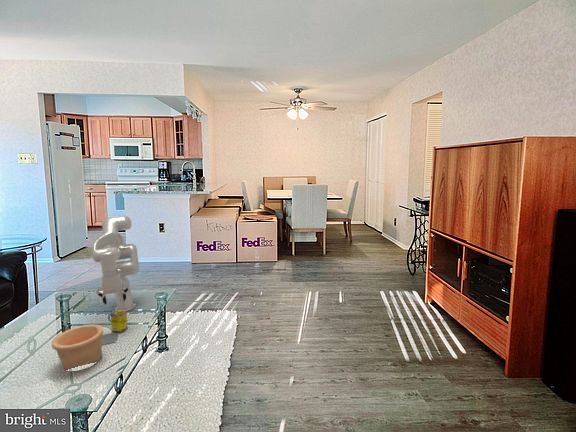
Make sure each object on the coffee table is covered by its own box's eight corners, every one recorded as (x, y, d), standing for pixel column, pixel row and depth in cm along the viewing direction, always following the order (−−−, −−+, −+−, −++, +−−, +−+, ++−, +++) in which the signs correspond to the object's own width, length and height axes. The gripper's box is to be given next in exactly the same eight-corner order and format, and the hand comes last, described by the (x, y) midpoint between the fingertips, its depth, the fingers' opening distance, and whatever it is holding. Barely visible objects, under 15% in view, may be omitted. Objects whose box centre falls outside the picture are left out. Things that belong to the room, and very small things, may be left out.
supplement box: (121, 332, 203) (119, 314, 202) (112, 332, 204) (110, 313, 203) (128, 328, 209) (126, 310, 208) (119, 328, 210) (117, 309, 209)
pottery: (96, 345, 193) (91, 320, 190) (115, 358, 179) (110, 331, 176) (50, 365, 176) (44, 338, 174) (67, 381, 162) (61, 352, 160)
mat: (78, 340, 198) (78, 340, 198) (118, 332, 205) (118, 331, 205) (74, 351, 187) (74, 351, 187) (116, 342, 194) (116, 341, 194)
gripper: (127, 268, 206) (132, 296, 209) (93, 273, 200) (99, 302, 203) (126, 272, 199) (131, 301, 202) (91, 278, 193) (97, 307, 197)
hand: (115, 301), depth 203 cm, fingers open, 9 cm apart
